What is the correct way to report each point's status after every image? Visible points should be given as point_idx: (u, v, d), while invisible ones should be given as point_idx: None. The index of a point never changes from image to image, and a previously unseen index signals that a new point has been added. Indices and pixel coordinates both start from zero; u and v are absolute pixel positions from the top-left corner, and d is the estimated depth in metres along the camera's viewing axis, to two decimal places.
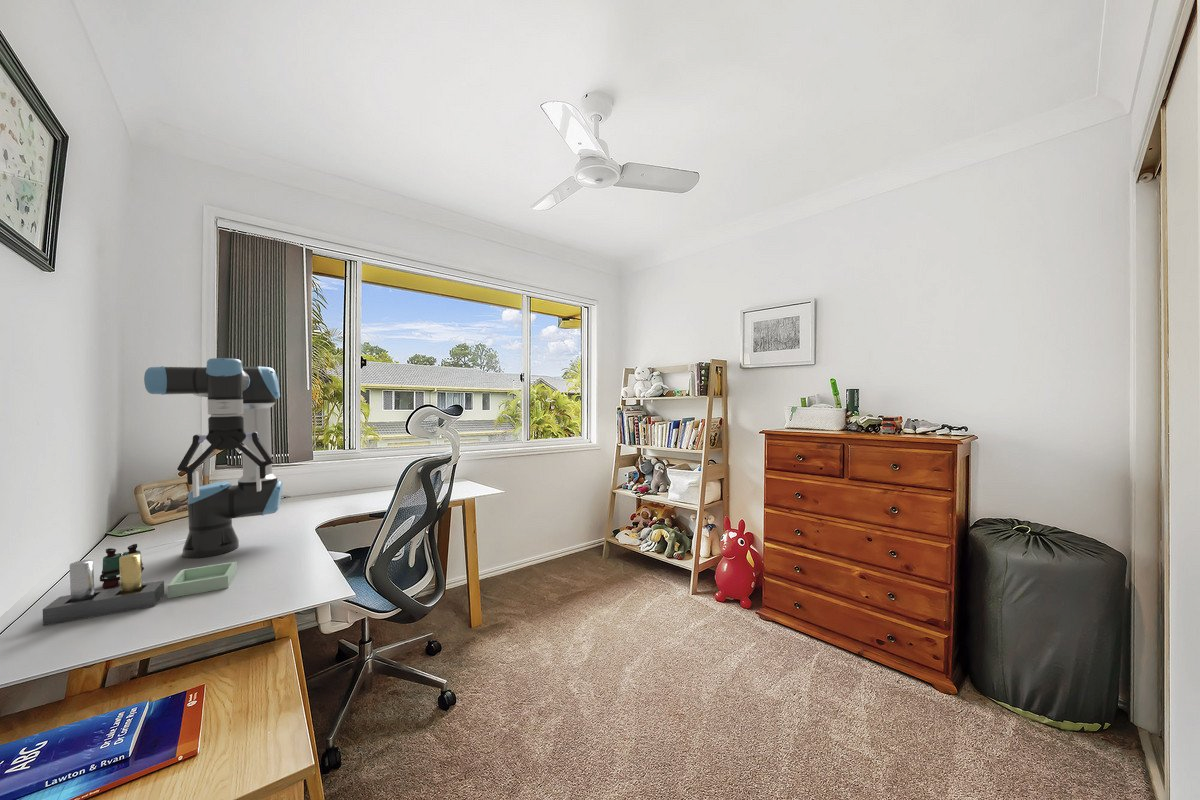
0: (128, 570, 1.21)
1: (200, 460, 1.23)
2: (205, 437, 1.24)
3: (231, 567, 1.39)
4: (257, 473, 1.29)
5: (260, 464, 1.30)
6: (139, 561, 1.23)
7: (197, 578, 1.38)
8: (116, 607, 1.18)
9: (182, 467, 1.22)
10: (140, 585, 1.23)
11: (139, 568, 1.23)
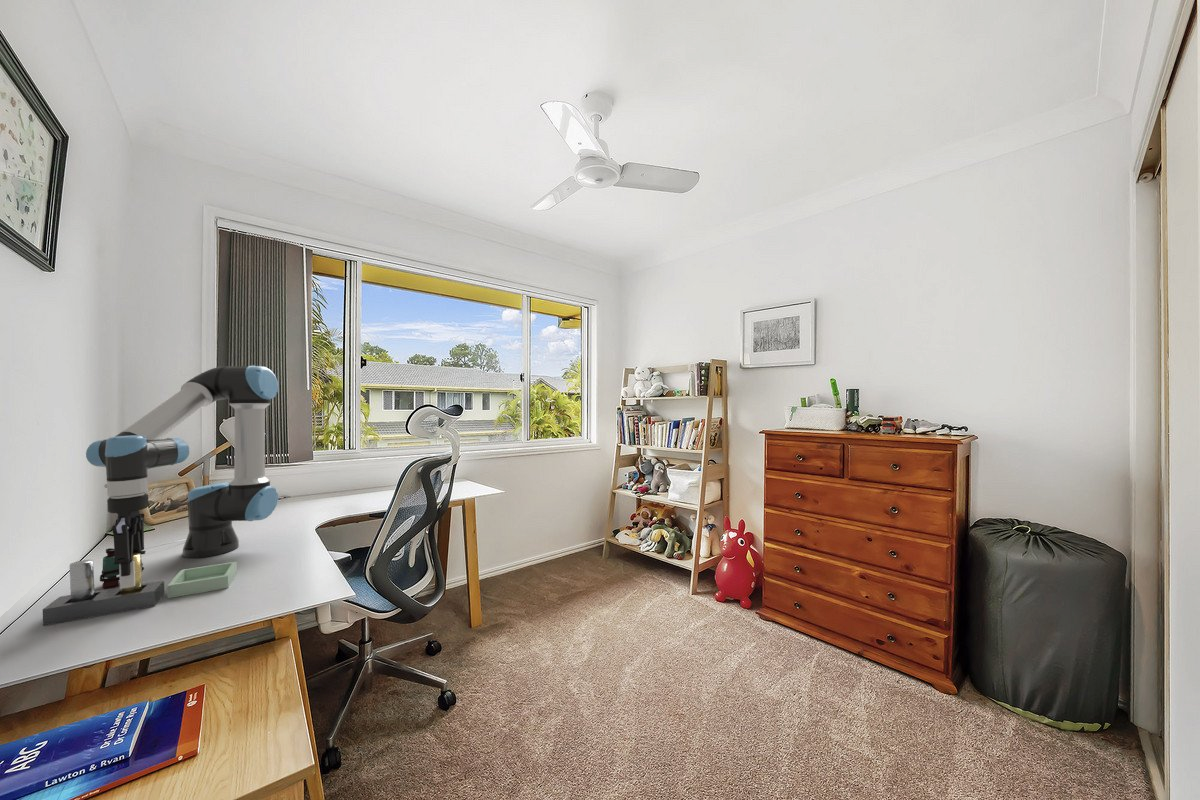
0: None
1: None
2: None
3: (231, 567, 1.39)
4: None
5: None
6: (139, 561, 1.23)
7: (197, 578, 1.38)
8: (116, 607, 1.18)
9: None
10: (140, 585, 1.23)
11: (139, 568, 1.23)
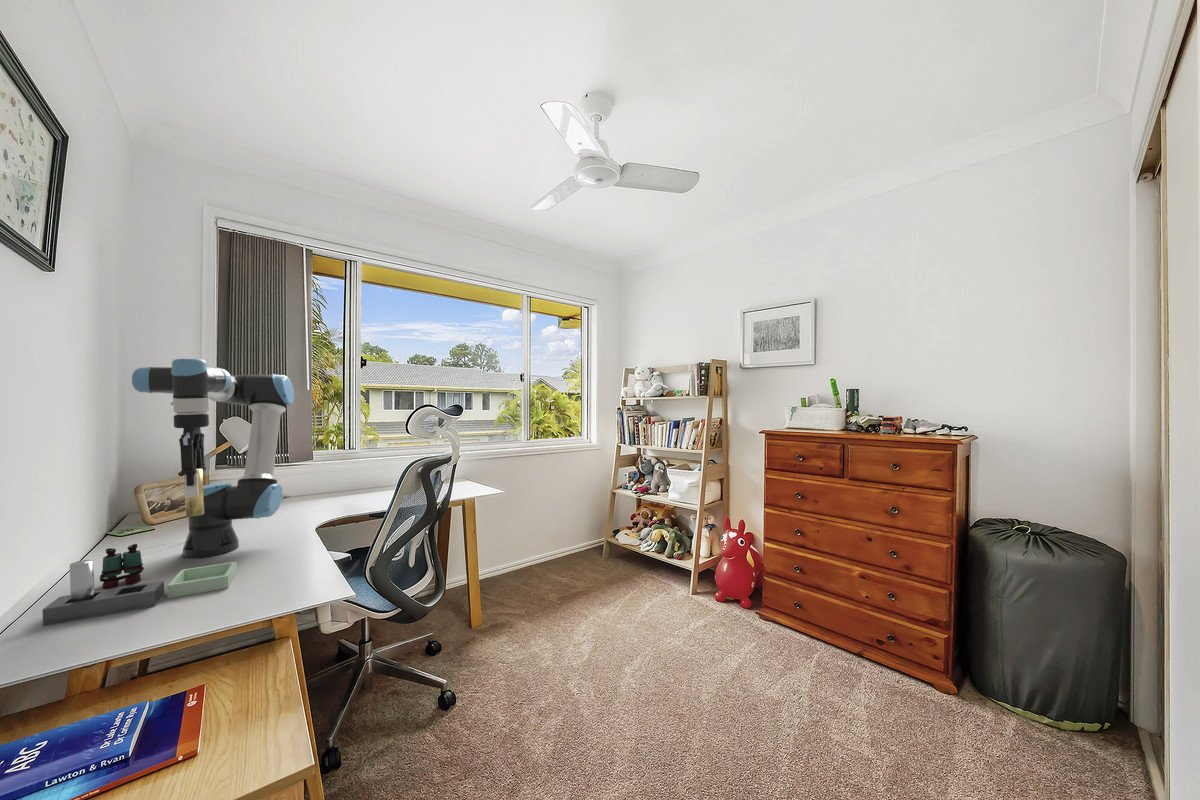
0: None
1: None
2: None
3: (231, 567, 1.39)
4: None
5: None
6: (201, 475, 1.34)
7: (197, 578, 1.38)
8: (116, 607, 1.18)
9: None
10: (202, 497, 1.34)
11: (201, 481, 1.34)
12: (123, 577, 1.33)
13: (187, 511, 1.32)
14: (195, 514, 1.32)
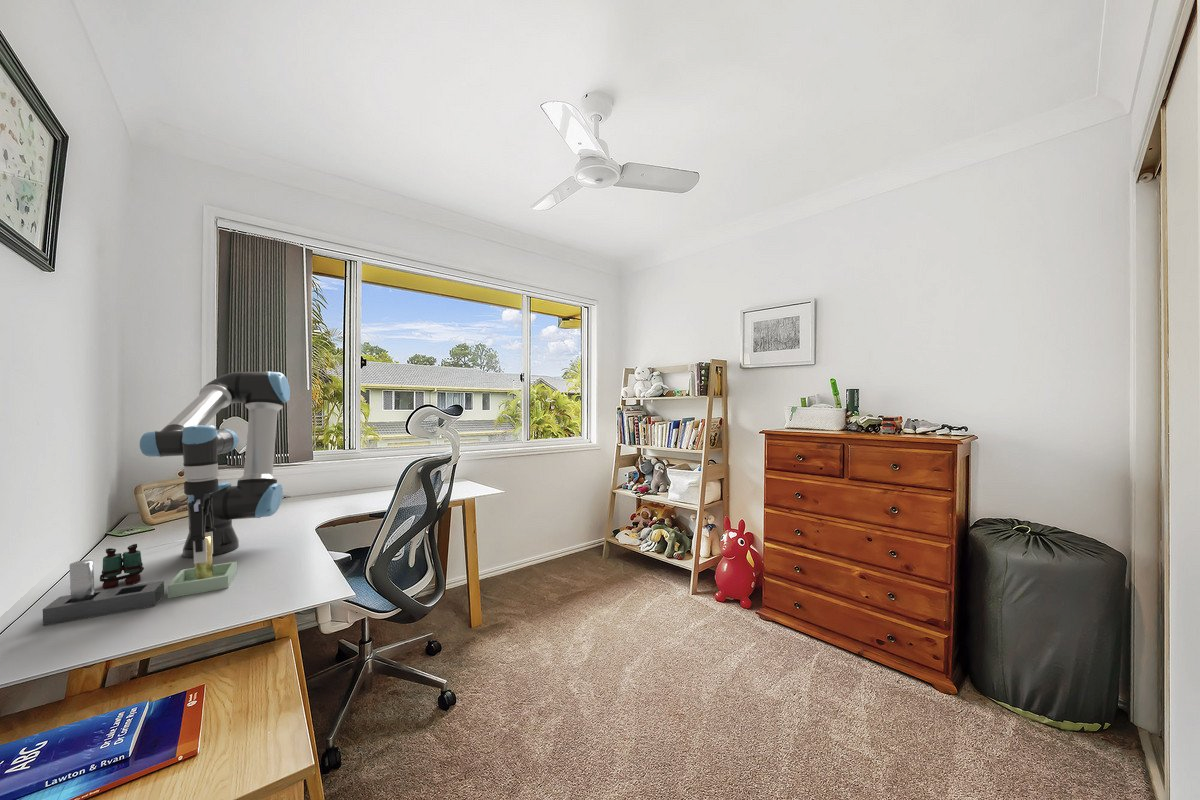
0: None
1: None
2: None
3: (231, 567, 1.39)
4: None
5: None
6: (210, 542, 1.36)
7: None
8: (116, 607, 1.18)
9: None
10: (211, 564, 1.36)
11: (210, 548, 1.36)
12: (123, 577, 1.33)
13: None
14: None
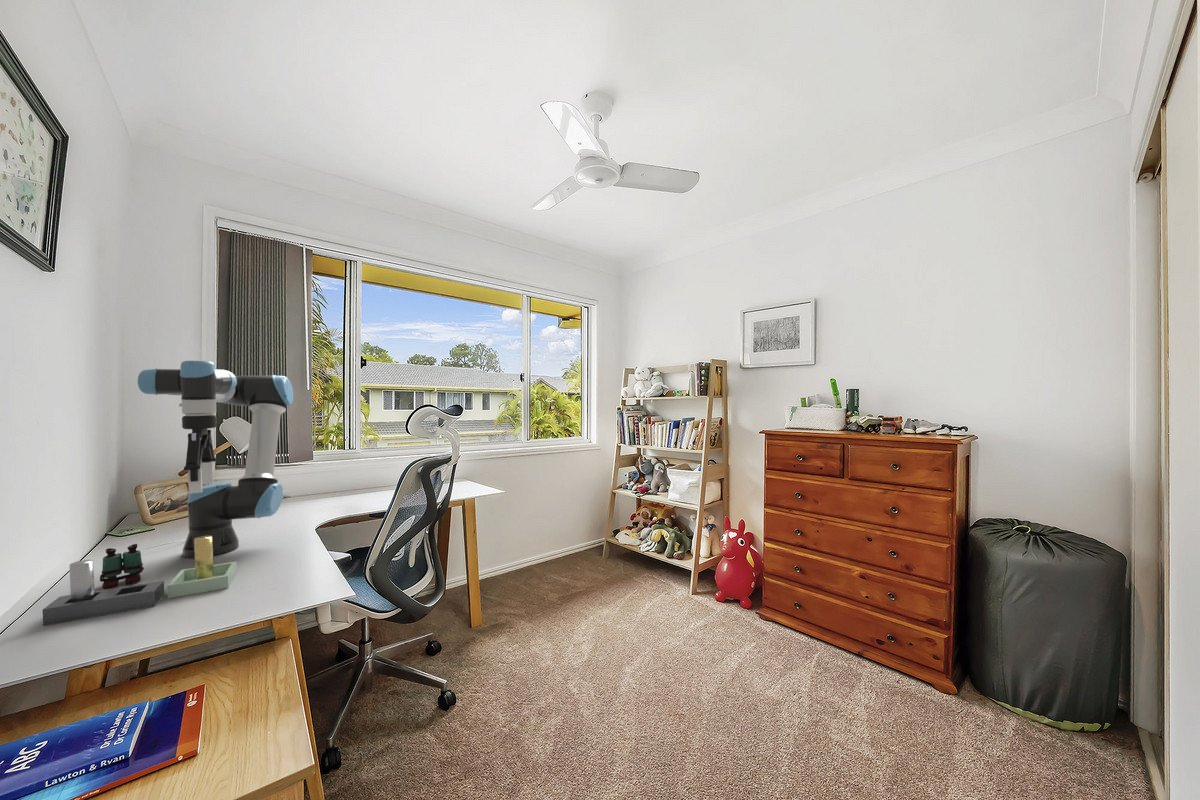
0: (202, 550, 1.34)
1: None
2: None
3: (231, 567, 1.39)
4: None
5: None
6: (211, 542, 1.36)
7: None
8: (116, 607, 1.18)
9: None
10: (212, 564, 1.36)
11: (211, 549, 1.36)
12: (123, 577, 1.33)
13: None
14: None
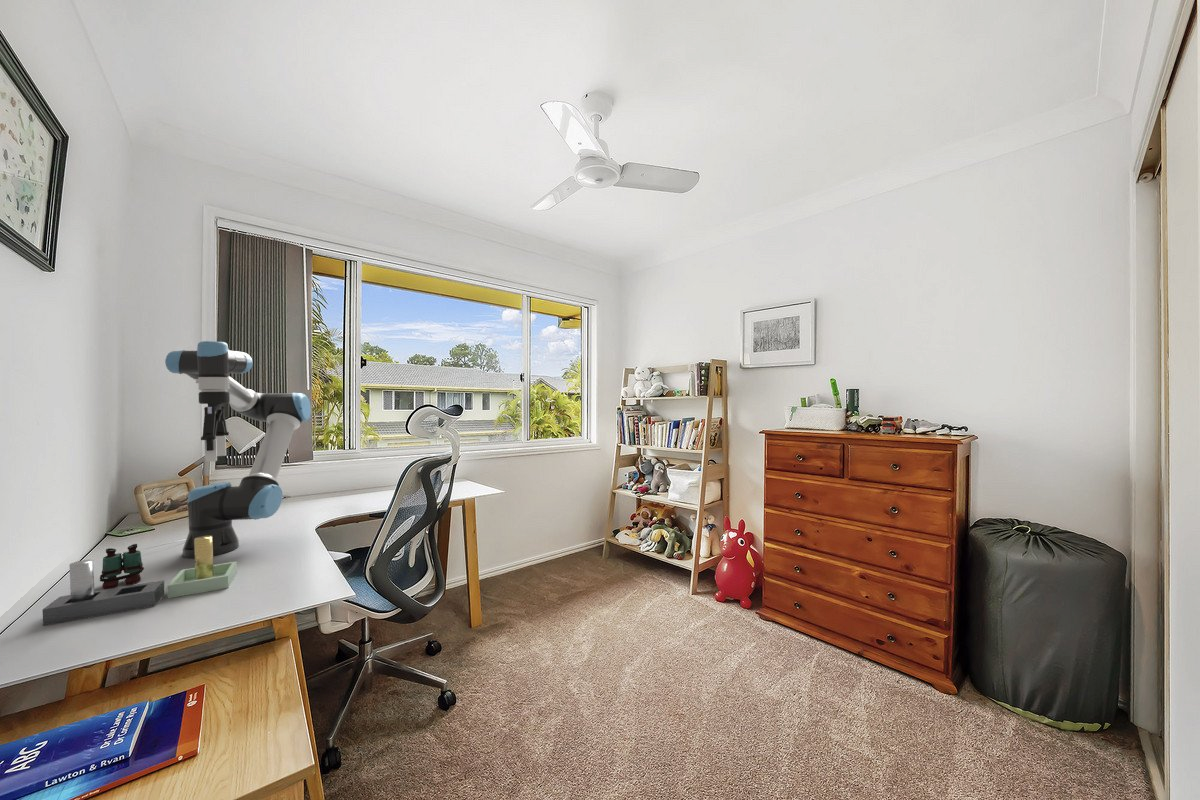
0: (202, 550, 1.34)
1: None
2: None
3: (231, 567, 1.39)
4: None
5: None
6: (211, 542, 1.36)
7: None
8: (116, 607, 1.18)
9: None
10: (212, 564, 1.36)
11: (211, 549, 1.36)
12: (123, 577, 1.33)
13: None
14: None
